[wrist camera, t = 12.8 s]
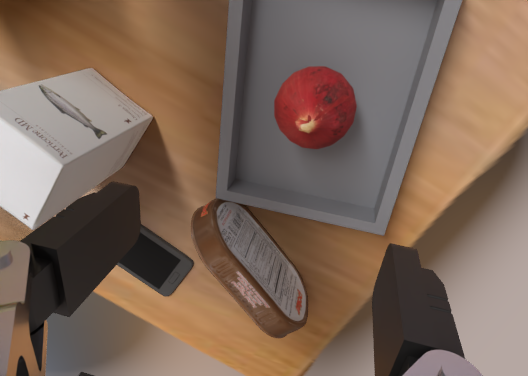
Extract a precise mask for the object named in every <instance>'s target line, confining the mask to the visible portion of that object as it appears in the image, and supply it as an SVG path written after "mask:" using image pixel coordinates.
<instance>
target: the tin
mask: <svg viewBox="0 0 528 376" xmlns="http://www.w3.org/2000/svg"><path fill="white" fill-rule="evenodd" d="M191 234H192V239H193V243H194V245H195V248H196V251H197V253H198V255H199V257H200V259H201V260H202V262H203V263H204V265H205V266H206V267H207V269H208V270H209V271H210V272H211V273H212V274H213V276H214V277H215V278H216V279H217V280H218V281H219V282H220V283H221V285H222V286H223V287H224V288H225V289H226V290H227V291H228V292H229V294H230V295H231V296H232V297H233V298H234V299H235V300H236V302H237V303H238V304H239V305H240V306H241V307H242V308H243V309H244V311H245V312H246V313H247V314H248V315H249V316H250V318H251V319H252V320H253V321H254V322H255V323H256V325H257V326H258V327H259V328H260V329H261V330H262V331H263V332H265V333H266V334H267V335H269V336H271V337H274V338H283V337H285V336H286V335H287V334H289V333H291V332H294V331H296V330H298V329H300V328H301V327H303V326H304V325H305V324H306V321H307V317H308V296H307V292H306V289H305V286H304V284H303V281H302V279H301V277H300V275H299V273H298V271H297V270H296V268H295V267H294V265H293V264H292V262H291V261H290V260H289V259H288V257H287V256H286V255H285V254H284V253H283V251H282V250H281V249H280V248H279V246H278V245H277V244H276V242H275V241H274V240H273V239H272V238H271V236H270V235H269V234H268V233H267V231H266V230H265V229H264V228H263V226H262V225H261V224H260V223H259V222H258V220H257V219H256V218H255V217H254V215H253V214H252V213H251V212H250V211H249V210H248V209H247V208H246V207H245V206H244V205H243V204H240V203H235V202H231V201H226V200H222V199H218V198H216V199H214V200H212V201H211V202H209V203H208V204H206V205H205V206H202V207H200V208H198V209H197V210H196V211H195V212H194V214H193V217H192V220H191Z"/></svg>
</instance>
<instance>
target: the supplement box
mask: <svg viewBox="0 0 528 376" xmlns="http://www.w3.org/2000/svg"><path fill="white" fill-rule="evenodd" d="M152 119H153V116H152V115H151V114H149V113H148V112H147V111H145V110H144V109H142V108H141V107H140V106H138V105H137V104H136V103H134V102H133V101H132V100H131V99H129V98H128V97H127V96H126V95H124V94H123V93H122V92H121V91H119V90H118V89H117V88H116V87H114V86H113V85H112V84H111V83H110V82H108V81H107V80H106V79H105V78H104V77H102V76H101V75H100V74H99V73H98V72H97V71H96V70H94V69H93V68H88V69H84V70H80V71H76V72H72V73H68V74H64V75H60V76H57V77H53V78H49V79H45V80H41V81H37V82H33V83H29V84H25V85H21V86H17V87H13V88H10V89H6V90H2V91H0V207H2V208H3V209H5V210H6V211H7V212H9V213H10V214H12V215H13V216H14V217H16V218H17V219H18V220H20V221H21V222H23V223H24V224H25V225H27V226H28V227H29V228H30V229H32V230H35V229H36V228H38V227H39V226H40V225H42V224H43V223H45V222H46V221H47V220H49V219H50V218H52V217H53V216H54V215H56V214H57V213H59V212H60V211H62V210H63V209H64V208H66V207H67V206H69V205H70V204H71V203H73V202H74V201H76V200H77V199H78V198H80V197H81V196H83V195H84V194H86V193H87V192H88V191H90V190H91V189H93V188H94V187H95V186H97V185H98V184H100V183H101V182H102V181H104V180H105V179H107V178H108V177H110V176H111V175H112V174H114V173H115V172H117V171H118V170H119V169H121V168H122V167H123V166H124V165H125V163H126V161H127V160H128V158H129V156H130V155H131V153H132V152H133V150H134V149H135V147H136V145H137V143H138V142H139V140H140V139H141V137H142V135H143V134H144V132H145V131H146V129H147V127H148V126H149V124H150V122H151V121H152Z"/></svg>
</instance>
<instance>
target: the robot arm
mask: <svg viewBox="0 0 528 376" xmlns="http://www.w3.org/2000/svg"><path fill="white" fill-rule="evenodd" d="M140 229H141V222H140V202H139V191H138V188H137V187H136V186H132V185H128V184H123V183H118V182H111V183H109V184H108V185H107V186H105V187H104V188H103V189H101V190H100V191H99V192H97V193H92V194H89V195H87V196H84V197H82V198H79V199H77V200H76V201H74V202H73V203H72V204H70V205H69V206H68V207H66V210H65V209H63V210H62V211H61V212H59V213H58V214H57V215H56V217H52V218H51V219H50V220H48V221H47V222H46V223H44V224H43V225H42V226H40V227H39V228H37V229H36V230H35V231H33V232H32V233H31V234H29V235H28V236H26V237H25V238H24V239H22V240H21V241H20V242H19V241H12V240H8V241H0V376H45V372H46V352H47V351H46V350H47V330H48V327H47V321H46V319H47V318H48V317H49V316H50V315H51V314H52V313H57V314H60V315H64V316H67V317H70V316H71V315H72V314H73V312H74V311H75V310H76V309H77V308H78V307H79V306H80V305H81V303H82V302H83V301H84V300H85V299H86V298H87V297H88V296H89V295H90V293H91V292H92V291H93V290H94V289H95V288H96V287H97V286H98V285H99V284H100V282H101V281H102V280H103V279H104V278H105V277H106V276H107V275H108V274H109V272H110V271H111V270H112V269H113V268H114V267H115V266H116V265H117V263H118V262H119V261H120V260H121V259H122V258H123V257H124V256H125V255H126V253H127V252H128V251H129V250H130V249H131V248H132V247H133V246H134V244H135V243H136V241H137V240H138V237H139V234H140ZM372 312H373V338H374V362H375V363H374V364H375V376H483V375H482V374H481V373H480V372H479V371H478V369H477V368H476V367H474V366H473V365H472V364H471V363H470V362H469V361H467V360H465V357H464V353H463V350H462V346H461V343H460V339H459V336H458V332H457V329H456V325H455V322H454V318H453V315H452V314H451V308H450V304H449V302H448V298H447V294H446V290H445V287H444V284H443V283H442V282H441V280H440V279H439V278H438V277H437V276H436V274H435V273H434V272H433V270H429V269H424V268H421V265H420V260H419V256H418V251H417V249H413V248H409V247H405V246H400V245H396V244H391V243H390V244H389V246H388V248H387V250H386V253H385V256H384V259H383V262H382V265H381V268H380V271H379V274H378V277H377V280H376V283H375V286H374V291H373V298H372ZM79 376H94V375H90V374H87V373H84V372H81V373H80V375H79Z"/></svg>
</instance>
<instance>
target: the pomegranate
mask: <svg viewBox="0 0 528 376" xmlns="http://www.w3.org/2000/svg"><path fill="white" fill-rule="evenodd" d="M356 108H357V104H356V99H355V94H354V89H353V88H352V86H351V85H350V84H349V82H348V81H347V80H346V79H345V77H344V76H343V75H342V74H341V73H339V72H337V71H335V70H332V69H330V68H328V67H326V66H309V67H306V68H304V69H301V70H299V71H296V72H294V73H293V74H292V75H291V76H290V77H289V78H288V79H287V80H286V81H285V82H284V83H283V84H282V85H281V87H280V89H279V92H278V94H277V96H276V98H275V100H274V117H275V119H276V122H277V124H278V127H279V129H280V131H281V132H282V133H283V134H284V135H285V136H286V137H287V138H288V139H289V141H291V142H293V143H295V144H297V145H299V146H300V147H302V148H310V149H320V148H324V147H328V146H331V145H333V144H334V143H336V142H337V141H338V140H340V139H341V138H342V137H344V136H345V134H346V133H347V131H348V130H349V128H350V127H351V125H352V124H353V122H354V117H355V113H356Z"/></svg>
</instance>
